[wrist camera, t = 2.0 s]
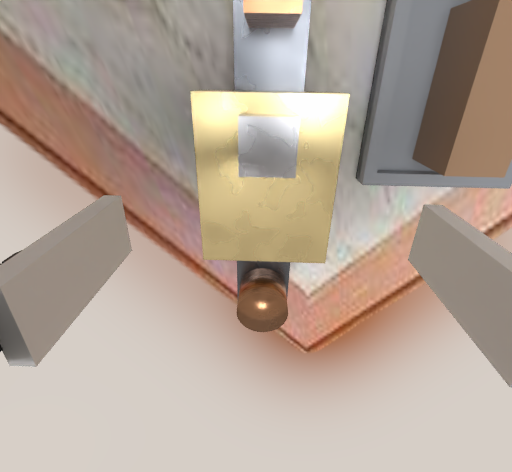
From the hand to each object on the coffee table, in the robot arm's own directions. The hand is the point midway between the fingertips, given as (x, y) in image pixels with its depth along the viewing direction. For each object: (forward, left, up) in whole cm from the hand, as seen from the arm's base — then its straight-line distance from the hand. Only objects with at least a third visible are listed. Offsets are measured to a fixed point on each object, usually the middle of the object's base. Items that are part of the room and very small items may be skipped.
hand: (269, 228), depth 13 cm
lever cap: (0, 0, -7) cm, 7 cm away
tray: (-5, +14, -14) cm, 20 cm away
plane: (0, 0, -14) cm, 14 cm away
